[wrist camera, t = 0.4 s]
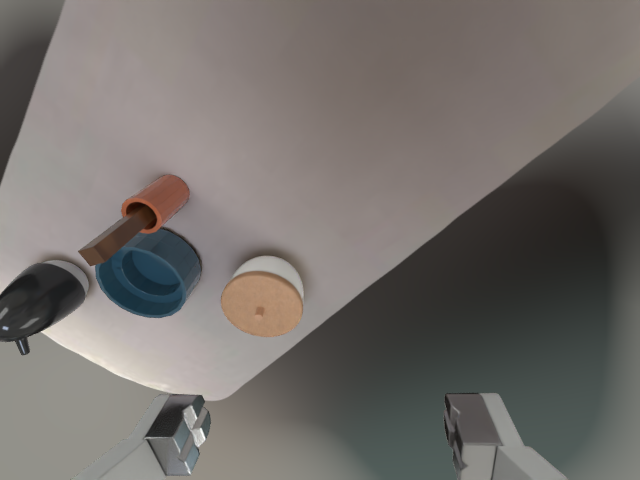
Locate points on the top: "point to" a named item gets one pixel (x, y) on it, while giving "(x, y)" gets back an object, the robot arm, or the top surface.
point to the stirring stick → (117, 235)
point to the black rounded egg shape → (40, 300)
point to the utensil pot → (159, 200)
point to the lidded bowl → (264, 297)
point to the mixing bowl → (150, 274)
